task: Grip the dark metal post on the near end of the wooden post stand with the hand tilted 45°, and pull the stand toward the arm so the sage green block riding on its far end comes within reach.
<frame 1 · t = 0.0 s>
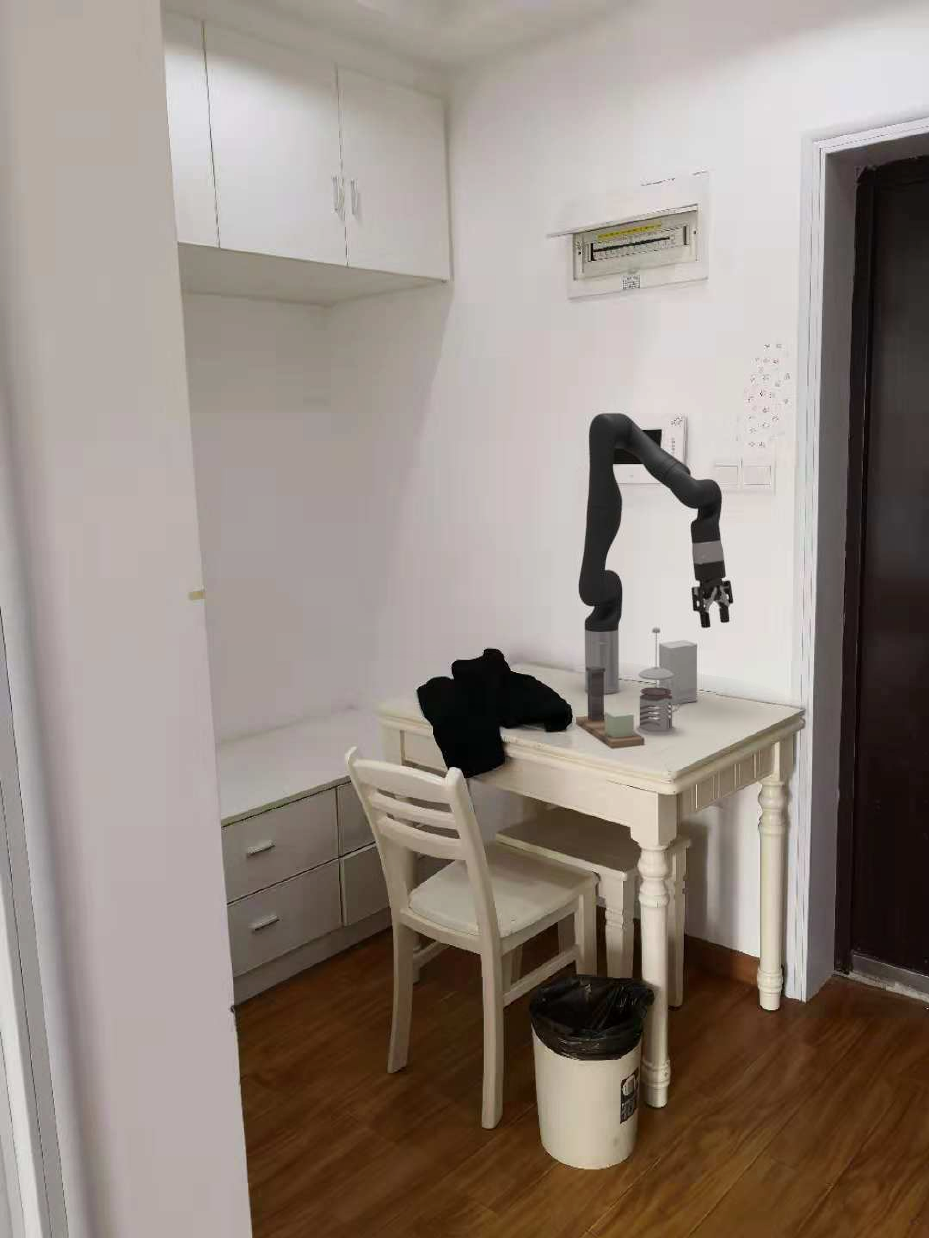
hand: (715, 625, 260), 22 cm above the table, tool pointing down, fingers open, 8 cm apart
french press: (659, 731, 249), on the table
sage block: (619, 734, 242), point 2 cm above the table, touching wooden post stand
skincare box: (677, 701, 276), on the table
wooden post stand: (608, 704, 246), point 7 cm above the table, slide at 0.0 cm, touching sage block
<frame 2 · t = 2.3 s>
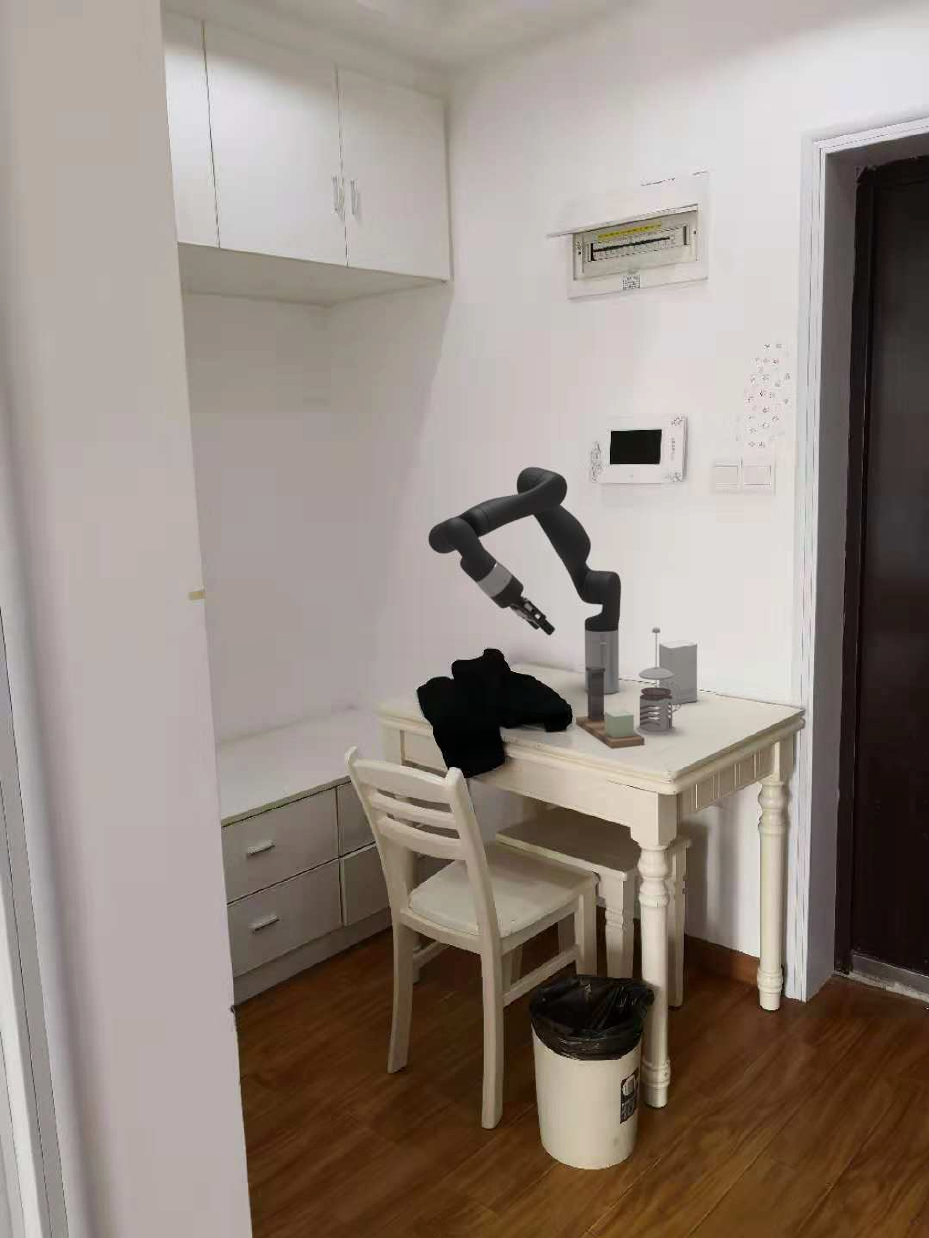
hand: (545, 629, 247), 25 cm above the table, tool tilted 45°, fingers open, 8 cm apart
nothing on the table moved.
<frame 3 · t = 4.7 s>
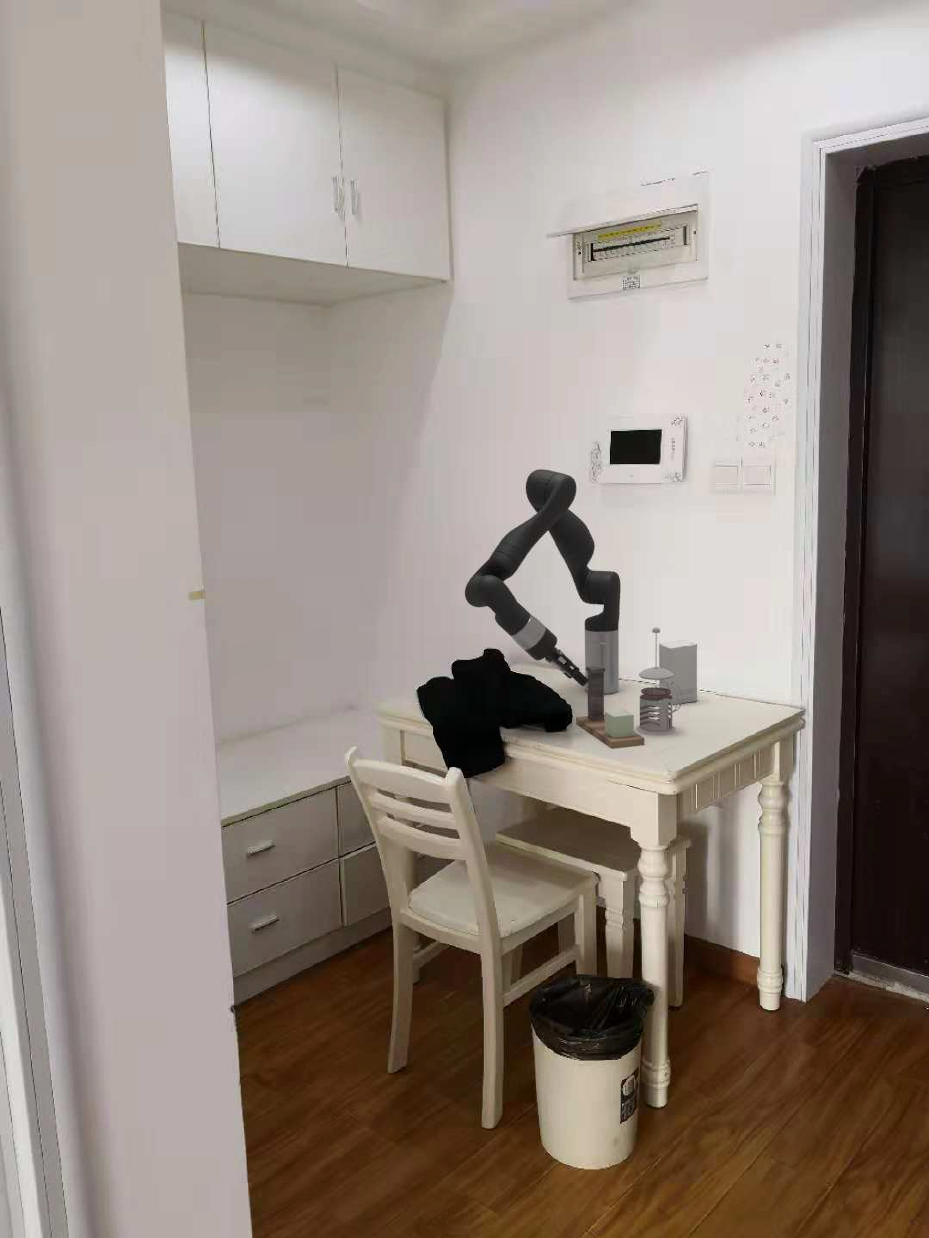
hand: (579, 679, 252), 12 cm above the table, tool tilted 45°, fingers open, 8 cm apart
nothing on the table moved.
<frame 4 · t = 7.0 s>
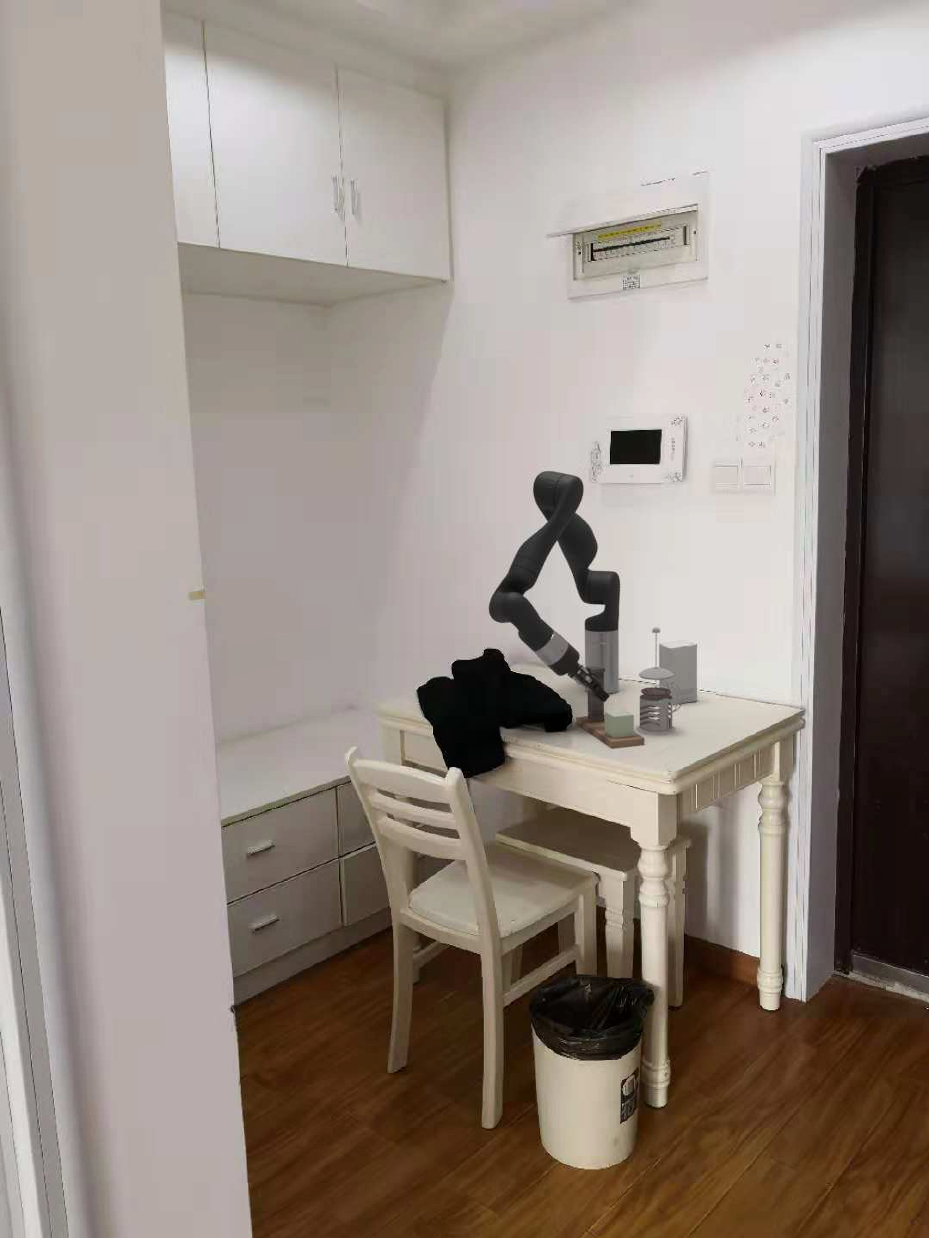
hand: (603, 696, 255), 7 cm above the table, tool tilted 45°, fingers closed on wooden post stand, 3 cm apart
wooden post stand: (608, 704, 246), point 7 cm above the table, slide at 0.0 cm, touching gripper, sage block
everything else where it was.
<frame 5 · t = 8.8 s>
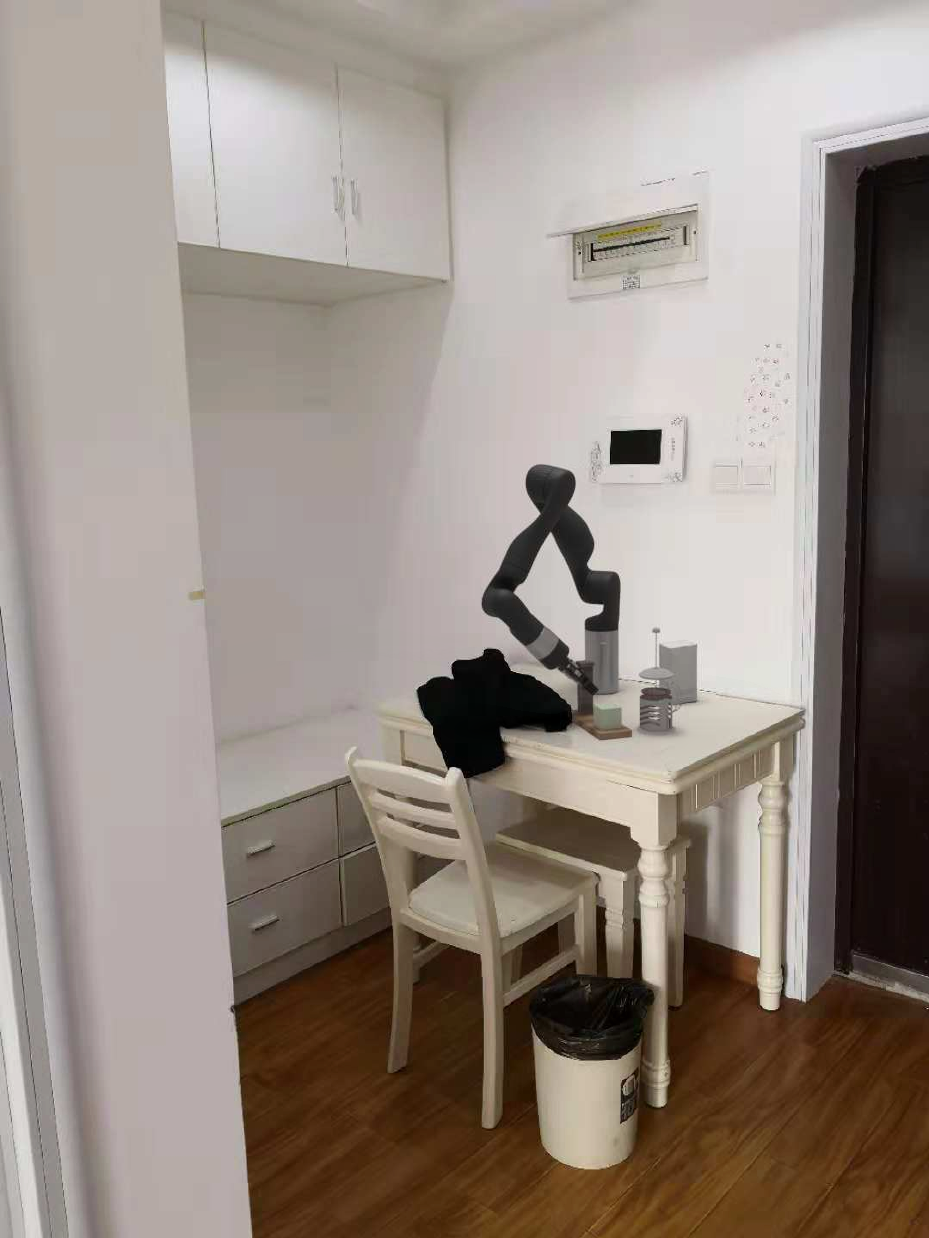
hand: (592, 690, 261), 7 cm above the table, tool tilted 45°, fingers closed on wooden post stand, 3 cm apart
sage block: (607, 726, 248), point 2 cm above the table, touching wooden post stand
wooden post stand: (597, 697, 253), point 7 cm above the table, slide at 6.8 cm, touching gripper, sage block
everything else where it was.
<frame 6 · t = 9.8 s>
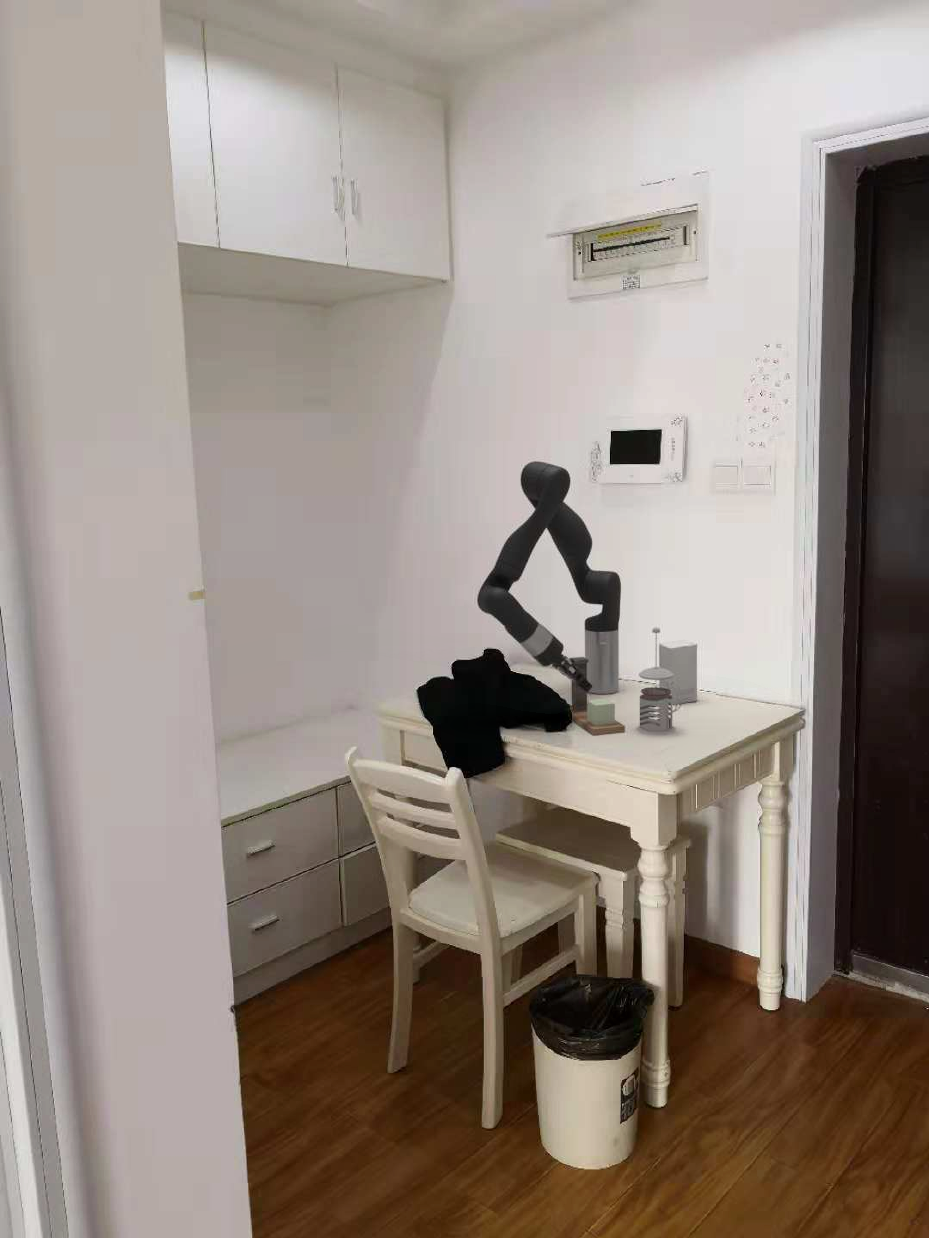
hand: (586, 687, 265), 7 cm above the table, tool tilted 45°, fingers closed on wooden post stand, 3 cm apart
sage block: (600, 722, 252), point 2 cm above the table, touching wooden post stand
wooden post stand: (591, 693, 257), point 7 cm above the table, slide at 10.8 cm, touching gripper, sage block
everything else where it was.
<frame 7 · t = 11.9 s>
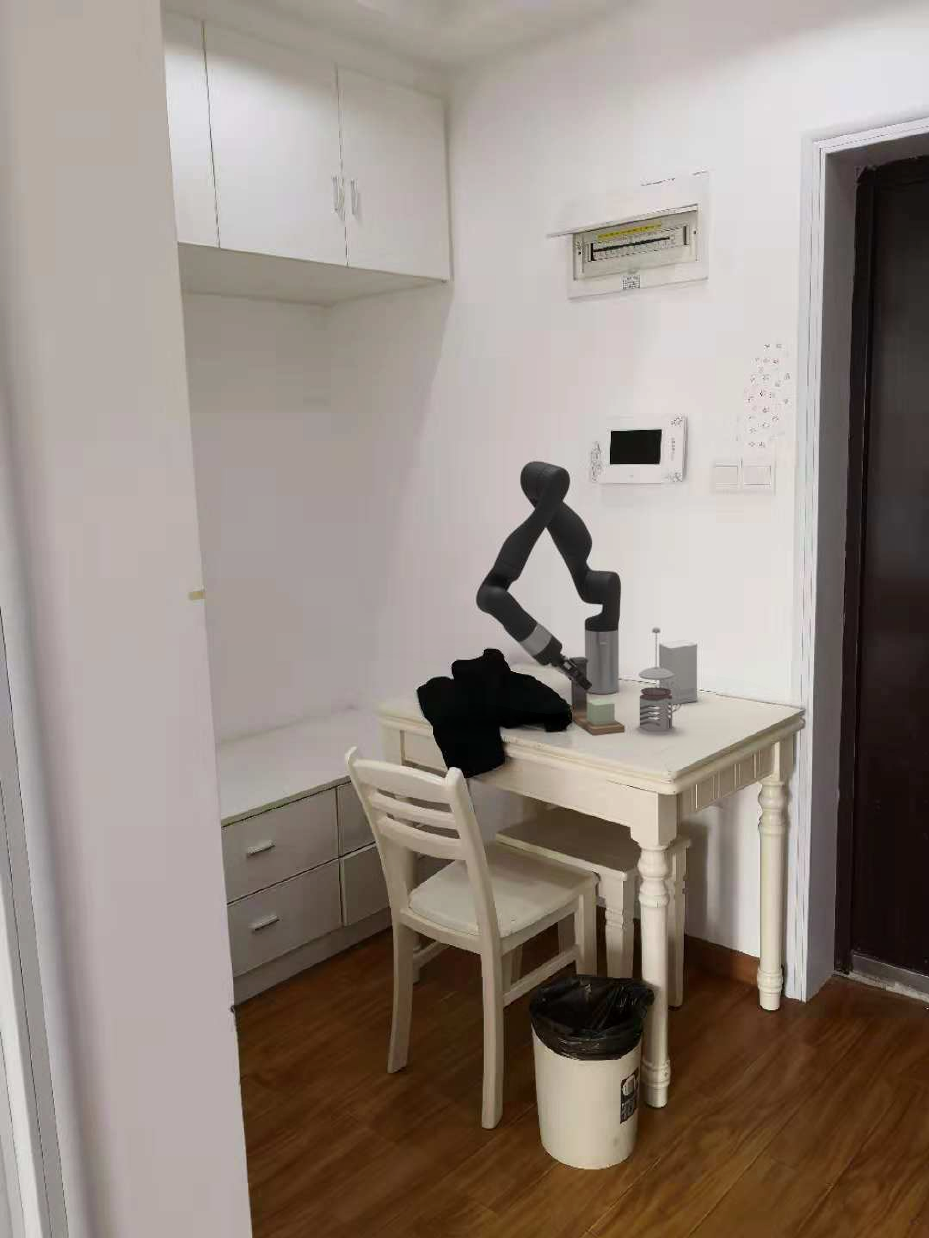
hand: (582, 683, 265), 8 cm above the table, tool tilted 45°, fingers open, 8 cm apart
wooden post stand: (591, 693, 257), point 7 cm above the table, slide at 10.9 cm, touching sage block
everything else where it was.
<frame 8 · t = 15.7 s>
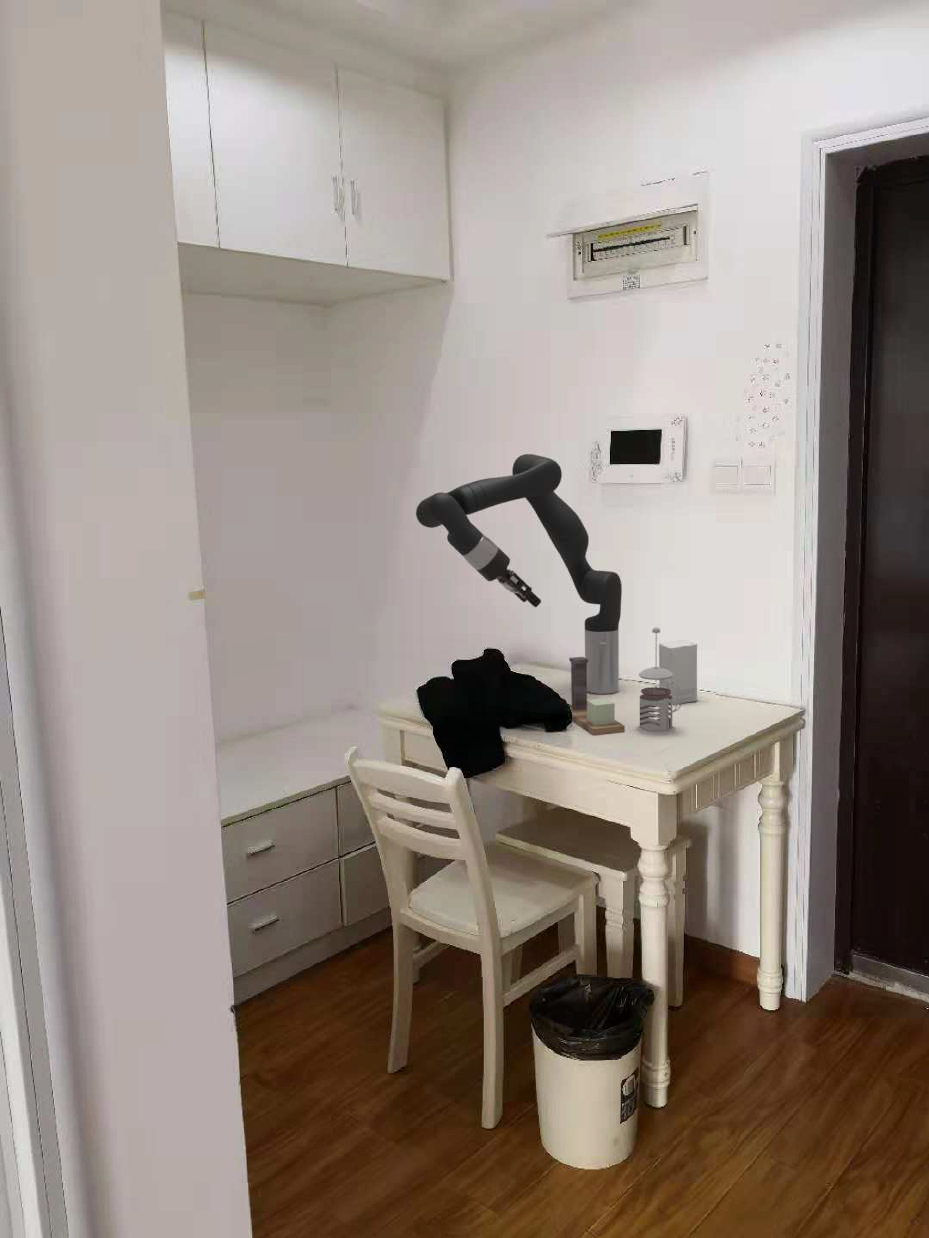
hand: (532, 601, 252), 31 cm above the table, tool tilted 45°, fingers open, 8 cm apart
nothing on the table moved.
at the end: wooden post stand slide at 10.9 cm; sage block inside the target area (0.1 cm from its centre), point 1.7 cm above the table; sage block tilted 0° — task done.
